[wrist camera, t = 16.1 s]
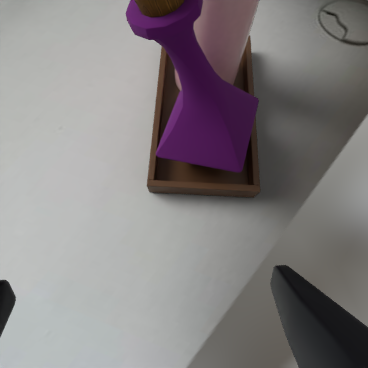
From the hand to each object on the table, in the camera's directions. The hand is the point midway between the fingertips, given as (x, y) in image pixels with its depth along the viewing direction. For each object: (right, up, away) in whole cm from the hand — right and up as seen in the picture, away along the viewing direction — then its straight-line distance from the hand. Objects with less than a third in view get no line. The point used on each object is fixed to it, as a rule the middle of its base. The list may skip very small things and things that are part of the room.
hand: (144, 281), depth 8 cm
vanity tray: (+4, +11, +18) cm, 21 cm away
